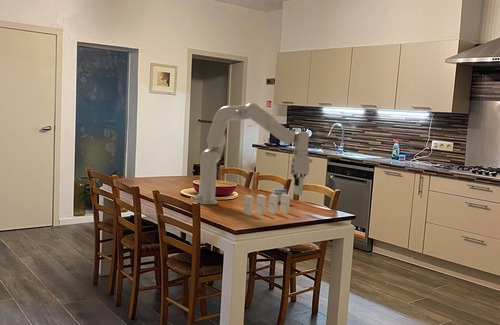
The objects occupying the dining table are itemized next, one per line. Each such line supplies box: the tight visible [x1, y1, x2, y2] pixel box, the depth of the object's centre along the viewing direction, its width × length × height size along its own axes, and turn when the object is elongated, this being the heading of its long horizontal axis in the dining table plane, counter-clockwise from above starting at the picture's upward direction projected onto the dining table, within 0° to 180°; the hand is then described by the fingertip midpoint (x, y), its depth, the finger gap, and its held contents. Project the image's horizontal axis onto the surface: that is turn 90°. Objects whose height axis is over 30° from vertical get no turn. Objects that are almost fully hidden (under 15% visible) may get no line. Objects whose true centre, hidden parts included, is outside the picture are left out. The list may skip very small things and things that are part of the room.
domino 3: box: [267, 193, 279, 215], centre depth 271 cm, size 2×6×10 cm, turn 30°
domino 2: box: [255, 194, 267, 216], centre depth 267 cm, size 2×6×10 cm, turn 31°
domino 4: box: [279, 194, 291, 214], centre depth 275 cm, size 2×6×10 cm, turn 30°
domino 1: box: [243, 194, 254, 216], centre depth 263 cm, size 2×6×10 cm, turn 31°
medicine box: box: [272, 188, 288, 205], centre depth 303 cm, size 8×4×9 cm, turn 101°
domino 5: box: [292, 175, 305, 196], centre depth 278 cm, size 2×6×10 cm, turn 30°
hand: (298, 185), depth 278 cm, fingers closed on domino 5, 2 cm apart
